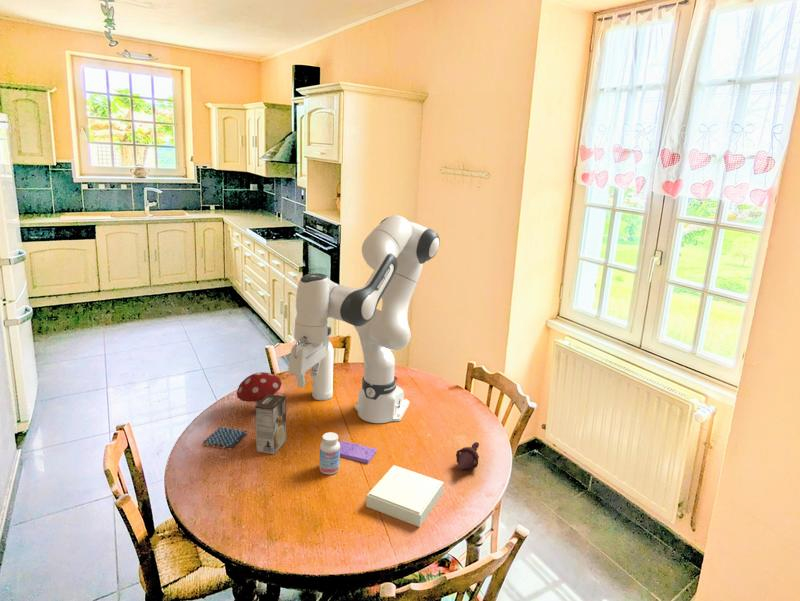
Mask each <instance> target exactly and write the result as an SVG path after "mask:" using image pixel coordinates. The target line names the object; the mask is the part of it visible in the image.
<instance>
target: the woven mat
mask: <svg viewBox="0 0 800 601" xmlns="http://www.w3.org/2000/svg"><path fill="white" fill-rule="evenodd" d="M247 435H248V433H247V431H246V430H244V429H241V430H239V429H235V428H231V427H223V426H219V427H218V428H217V429H215V430H214V432H212V434H210V435H209V437H207V438H206V439H205V440H204V441H203V443H202V444H203V446H204V447H205V446H207V447H210V448H215V447H216V448H218V449H222V450H226V451H227V450H229V451H231V450H233V449H234V448H235V447H236V446H237V445H238V444H239V443H240V442H241V440H243V439H244V437H246V436H247Z"/></svg>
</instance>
